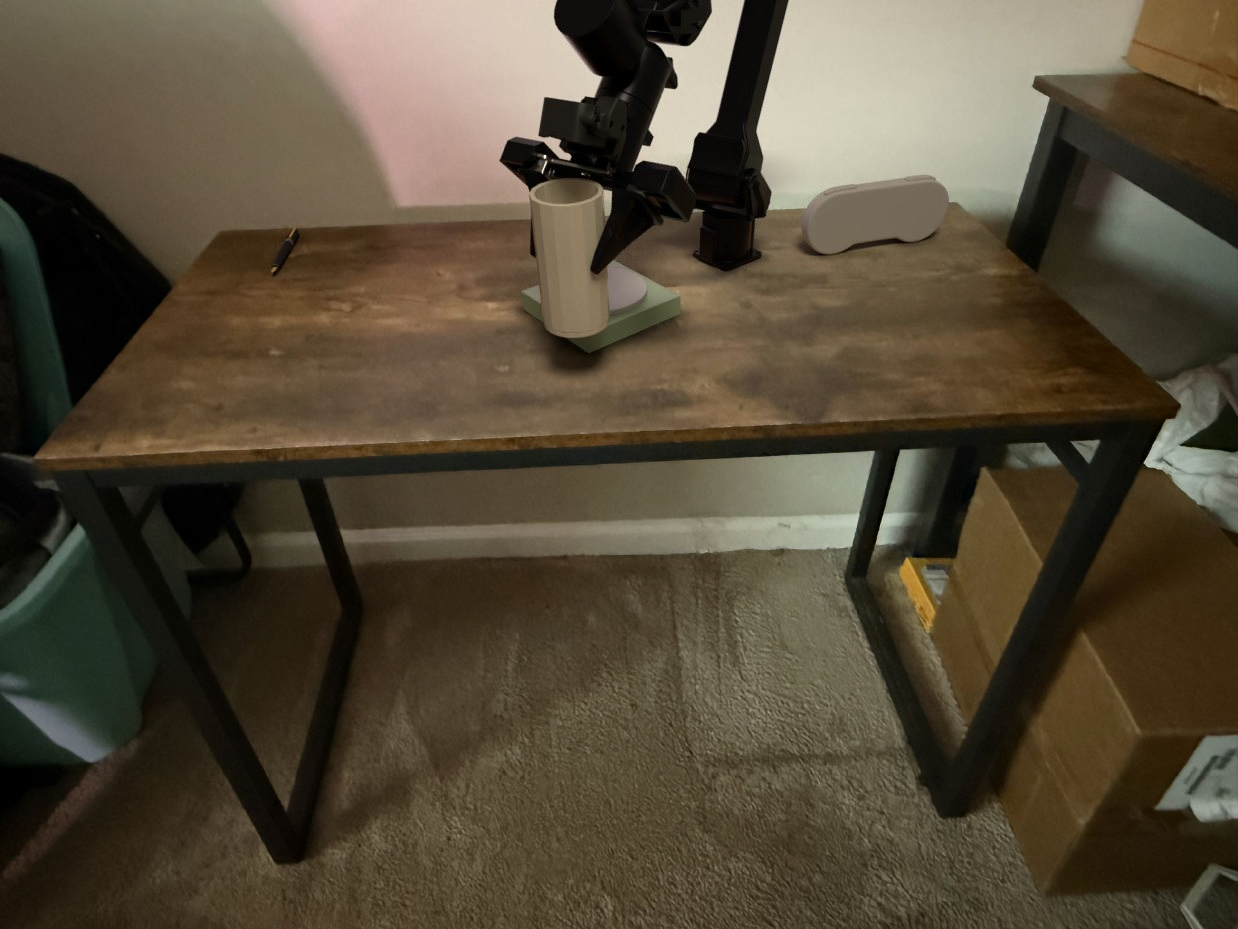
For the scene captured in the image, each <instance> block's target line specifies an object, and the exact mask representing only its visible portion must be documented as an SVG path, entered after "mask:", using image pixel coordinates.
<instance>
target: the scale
mask: <svg viewBox="0 0 1238 929" xmlns="http://www.w3.org/2000/svg"><path fill="white" fill-rule="evenodd" d="M608 285H609V304H610V321H609V324H608V325H607V327H606V328H605V329H604V330H602V331H601V332H599V333H597V334H594V335H591V336H587V337H581V338H566V337H564V338H565V339H566V340H568V341H570V342H571V343H573V344H574V345H575V346H577V347H578V348H580V349H581V350H583V352H586V353H587V354H591V353H593V352H595V351H598V350H600V349H602V348H605V347H607V346H609V345H612V344H614V343H616V342H619V341H621V340H624V339H626V338H628V337H630V336H633V335H636V334H637V333H640V332H642V331H645V330H647V329H649V328H651V327H653V326H656V325H658V324H661V323H663V322H665V321H667V320H670V319H672V318H674V317H677V316H679V315H680V314H681V295H680V294H679V293H677V292H674V291H672V290H671V289H669V288H667V287H665V286H663V285H661V284H660V283H658V282H655V281H654V280H652V279H650V278H648V277H646V276H645V275H642V274H641V273H639V272H637V271H635V270H633V269H631V268H630V267H627V266H626V265H624V264H622V263H620V262H618V261H616V260H615V259H614V260H613V261H612V262H611V263H610V264H609V265H608ZM520 294H521V301H522V309H523V311H525V312H526V313H528V314H529V315H531V316H532V317H534V318H535V319H537V320H538V321H540V322H541V323H543V324H544V320H543V316H542V307H541V298H540V289H539V284H537V285H534V286H532V287H528V288H526V289H523V290H521V291H520Z"/></svg>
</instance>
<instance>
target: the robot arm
mask: <svg viewBox="0 0 1238 929" xmlns="http://www.w3.org/2000/svg"><path fill="white" fill-rule="evenodd" d="M789 1H790V0H743V3H742V8H741V12H740V16H739V20H738V25H737V29H736V33H735V37H734V41H733V45H732V50H731V55H730V59H729V63H728V68H727V72H726V75H725V80H724V85H723V89H722V93H721V97H720V102H719V105H718V110H717V114H716V118H715V121H714V122H713V123H712V124H711V126H710V127H709V128H708V129H707V130H706V131H705V132H703V131H702V132H701V131H699V132H698V133H697V134H696V136H695V137H694V139H693V143H692V144H693V145H692V152H691V155H690V159H689V161H688V164H687V165H686V167H687V168H686V171H685V176H684V175H683V173H682V172H681V171H680V169H679V168H678V167H677V166H676V165H670V164H667V163H666V164H665V163H660V162H655V161H650V160H644V159H643V160H641V161H640V162H638V163H637V160H638V159H639V156H640V155H639V154H640V153H641V150H642V148H643V146H644V147H649V148H650V147H651V145H652V143H653V140H654V138H655V136H654V135H653V133H652V132H651V130H650V127H651V124H652V122H653V119H654V116H655V114H656V111H657V109H658V106H659V104H660V101H661V98H662V96H663V94H664V91H665V89H670V90H677V89H678V87H679V80H678V79H679V78H678V74H677V72H676V70H675V67H674V58H673V57H672V56H667V55H666V53H665V52H664V50H663V49H662V47H661V46H660V44H661V45H667V46H668V45H669V46H676V47H689V46H691V45H692V44H694V43H695V42H696V41H697V39H698V38H699V36H700V34H701V33H702V31H703V29H704V27H705V25H706V24H707V22H708V20H709V19H710V17H711V15H712V13H713V6H712V0H556V1H555V5H554V9H553V20H554V24H555V26H556V28H557V30H558V31H559V32H560V34H561V35H562V36H563V38H564V39H565V41H566V42H567V43H568V45H569V46H570V47H571V49H572V50H573V51H574V52H575V53H576V55H577V56H578V57H579V59H580V60H581V61H582V63H583V64H584V65H585V67H586V68H587V69H588V70H589V71H590V72H591V73H592V74H594V75H595V76H598V77H601V78H600V81H599V84H598V85H597V88H596V91H595V94H594V96H587V95H586V96H584V98H582V99H581V100H580V101H575V100H568V99H563V98H562V99H561V98H555V97H548V96H545V97H544V98H543V102H542V108H541V109H542V110H541V115H540V121H539V128H538V134H537V136H538V137H540V138H543V139H547V138H548V139H549V138H552V139H555V140H559V144H558V147H559V148H560V149H561V150H562V152H563V153H565V154H569V156H570V159H564V158H560V157H559V156H558V154H556V152H555V151H553V149H552V148H551V147H549V145H548V144H547V143H545V141H543V140H537V139H531V138H526V137H520V136H514V137H512V138H510V139H507V140H506V142H505V144H504V147H503V149H502V152H501V154H500V157H499V160H498V161H499V163H501V164H502V165H503V166H504V167H505V168H507V169H508V170H509V171H510V173H512V174H513V175H514V176H515V177H517V179H518V180H520V182H522V183H523V184H524V185H525V186H527V189H528V192H529V193H530V191H531V189H532V188H534V187H535V186H537V185H538V184H540V183H544V182H547V181H550V180H555V179H562V178H581V179H587V180H592V181H594V182H596V183H599V184H600V185H601V186H602V188H603V189H604V191H609V192H611V202H610V203H611V204H610V205H611V206H610V212H609V215H608V218H607V220H606V222H605V228H604V230H603V233H602V235H601V238H600V240H599V243H598V245H597V248H596V250H595V253H594V256H593V259H592V263H591V267H590V271H591V272H592V273H594V274H596V275H598V274H599V273H600V272H601V271H602V270H603V269H604V268H606V267H607V266H608V265H609V264H610V263H611V262H612V261H613V260H614V261H615V259H616V258H617V257H618V256H619V255H620V254H621V253H623V251H625V250H626V249H627V248H628V247H629V246H630V245H631V244H633V242H634V241H636V240H637V239H639V238H640V237H641V236H642V235H644V234H645V233H647V231H648V230H650V229H651V228H653V227H654V226H658V227H661V226H662V225H663V224H664V222H665V220H664V219H667V220H672V221H676V222H681V223H689V222H690V221H691V218H692V215H693V213H694V210H700V211H702V212H701V213H702V214H701V215H702V216H701V225H700V226H699V248H696V249H693V250H692V256H694V257H696V258H698V259H700V260H702V261H704V262H706V263H708V264H711V265H712V266H714V267H717V268H719V269H721V270H723V271H730V270H733V269H735V268H737V267H740V266H742V265H745V264H747V263H749V262H752V261H754V260H757V259H760V258H761V257H762V256H763V252H762V251H760V250H758V249H756V248H754V243H755V242H754V241H755V240H754V239H755V228H756V219H765V218H766V217H767V211H768V210H769V207H770V204H771V198H772V193H773V192H772V189H771V188H770V186H769V184H768V183H767V181H766V179H765V177H764V175H763V173H762V169H763V163H764V154H763V151H762V147H761V143H760V139H759V136H758V132H757V131H758V126H759V122H760V118H761V114H762V110H763V107H764V102H765V98H766V93H767V90H768V85H769V81H770V77H771V74H772V70H773V66H774V61H775V57H776V54H777V49H778V44H779V42H780V37H781V33H782V29H783V25H784V22H785V17H786V13H787V9H788V5H789ZM658 44H659V45H658ZM529 233H530V234H529V235H530V237H529V254H530V256H531V257H533V258H534V259H536V253H535V244H534V235H533V226H532V217H531V216H530V232H529Z"/></svg>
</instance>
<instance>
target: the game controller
mask: <svg viewBox="0 0 1238 929" xmlns="http://www.w3.org/2000/svg"><path fill="white" fill-rule="evenodd" d="M949 204H950V197H949V192H948V190H947V188H946V187H945V186H944V184H942V183H941V182H940V181H938V180H936V177H935V176H932V175H930V174H917V175H916V174H915V175H909V176H908V175H907V176H905V177H900V178H893V179H885V180H878V181H871V182H862V183H856V184H854V183H851V184H843V185H837V186H836V185H835V186H832V187H829V188H827V189H825V190H823V191H821V192H820V193H819V194H817V195H816V196H814V198H813V199H812V200H811V201H810V202H809V203H808V205H807V206H806V208H805V210H804V212H803V215H802V218H801V222H800V223H801V224H800V230H801V234H802V237H803V239H804V241H805V242H806V244H807V245H808V246H810V247H811V248H812V249H813V250H814V251H815V252H817V253H819V254H822V255H835V254H836V255H837V254H839V253H842V252H844V251H846V250H847V249H848V248H850V247H852V246H853V245H857V244H858V245H859V244H863V243H870V242H877V241H884V240H889V239H890V240H891V239H897V240H899V241H901V242H905V243H917V242H919V241H922V240H924V239H926V238H928V237H929V236H931V235H932V234H934V232H936V231H937V230H938V228H939V227H940V226H941V224H942V223H943V221H944V220H945V218H946V216H947V213H948V210H949Z"/></svg>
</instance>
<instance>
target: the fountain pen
mask: <svg viewBox="0 0 1238 929" xmlns="http://www.w3.org/2000/svg"><path fill="white" fill-rule="evenodd" d="M298 236H299V229H298V228H297V226H294V227H293V228H292V230H290V231H289V233H288V234H287V236H286V237H285V239H284V241H283V243H282V246H281V247H280V249H279V252H278V253H277V255H276V257H275V259H274V262H273V264H272V265H271V270H270V272H271V273H274V272H278V271H279V268H280V267H281V265H282V264H283V262H284V261H285V259H286V258H287V256H288V254H289V252H290V251H291V249H292V248H293V247H294V245H295V242H296V241H297V238H298Z"/></svg>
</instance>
